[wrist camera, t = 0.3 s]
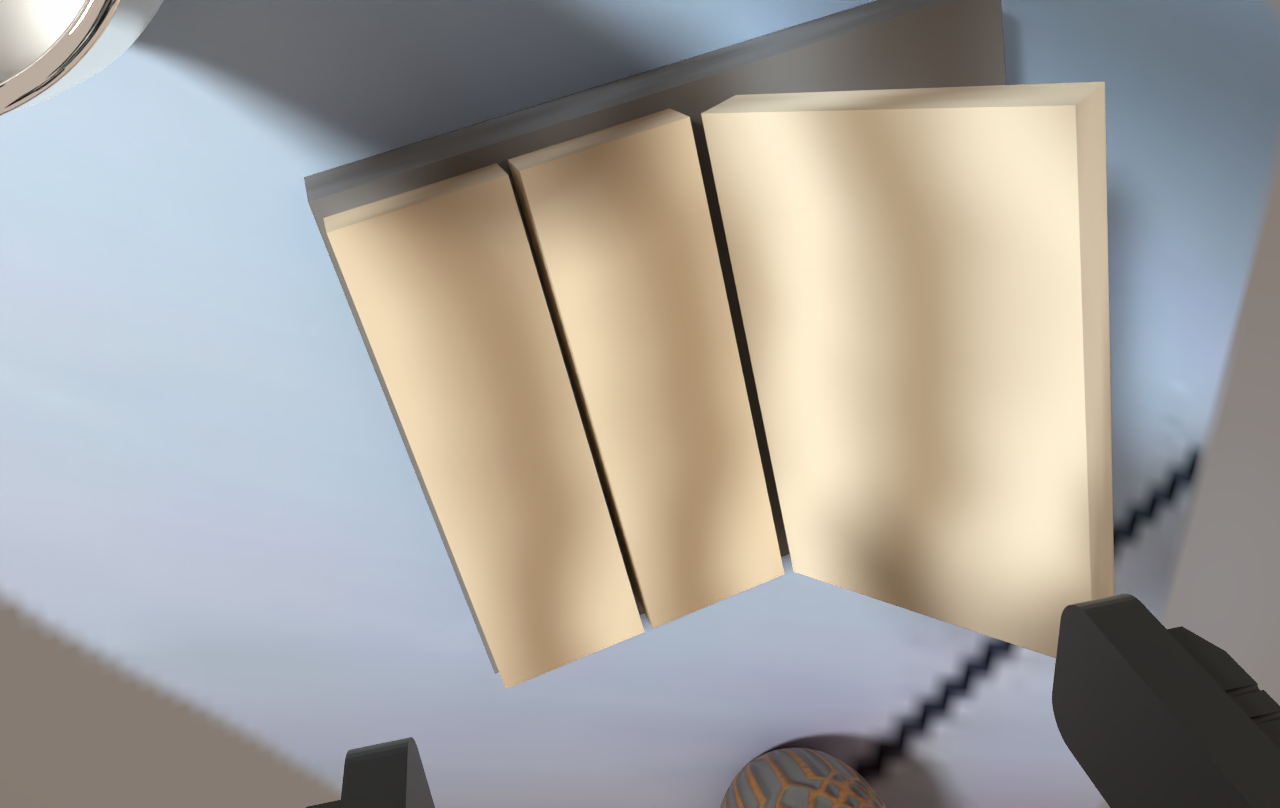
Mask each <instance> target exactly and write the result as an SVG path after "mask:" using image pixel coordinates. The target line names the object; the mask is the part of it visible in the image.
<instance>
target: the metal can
mask: <svg viewBox="0 0 1280 808" xmlns="http://www.w3.org/2000/svg"><path fill="white" fill-rule="evenodd" d="M163 1H164V0H0V116H3V115H5V114H7V113H10V112H13V111H16V110H19V109H23V108H26V107H29V106H32V105H35V104H38V103H41V102H43V101H46V100H48V99H51V98H53V97H55V96H57V95H60V94H62V93H64V92H65V91H67V90H69V89H71V88H73V87H75V86H77V85H78V84H80V83H82V82H84V81H86V80H87V79H89V78H91V77H92V76H94V75H96V74H97V73H99V72H100V71H102V70H103V69H105V68H106V67H107V66H109V65H110V64H111V63H113V62H114V61H115V60H116V59H117V58H118V57H120V56H121V55H122V54H123V53H124V52H125V51H126V50H127V49H128V48H129V47H130V46H131V45H132V44H133V43H134V42H135V41H136V39H137V38H138V37H139V36H140V34H141V33H142V32H143V31H144V29H145V28H146V27H147V25H148V24H149V23H150V21H151V20H152V18H153V17H154V15H155V14H156V12H157V11H158V9H159V8H160V6H161V4H162V2H163Z"/></svg>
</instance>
